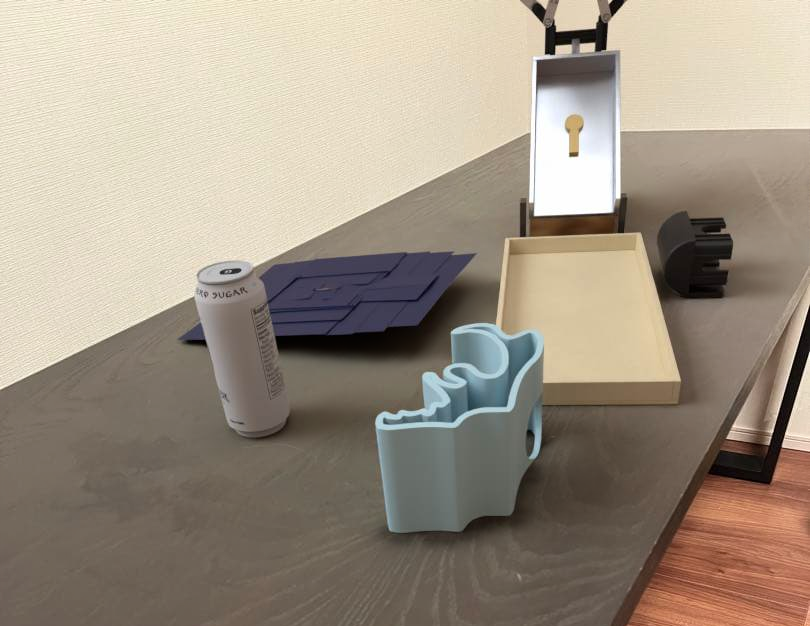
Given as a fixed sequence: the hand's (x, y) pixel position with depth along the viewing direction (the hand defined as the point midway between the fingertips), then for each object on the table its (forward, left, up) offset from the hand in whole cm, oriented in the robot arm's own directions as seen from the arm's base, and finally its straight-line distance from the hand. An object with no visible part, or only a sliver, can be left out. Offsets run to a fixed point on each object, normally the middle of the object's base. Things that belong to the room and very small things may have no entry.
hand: (574, 57), depth 105 cm
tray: (0, +38, -19) cm, 43 cm away
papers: (+28, +35, -20) cm, 49 cm away
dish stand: (0, +8, -19) cm, 21 cm away
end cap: (-13, +30, -20) cm, 38 cm away
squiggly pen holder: (+9, +69, -20) cm, 72 cm away
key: (0, +9, -7) cm, 11 cm away
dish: (0, +7, -7) cm, 10 cm away
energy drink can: (+30, +61, -20) cm, 71 cm away
